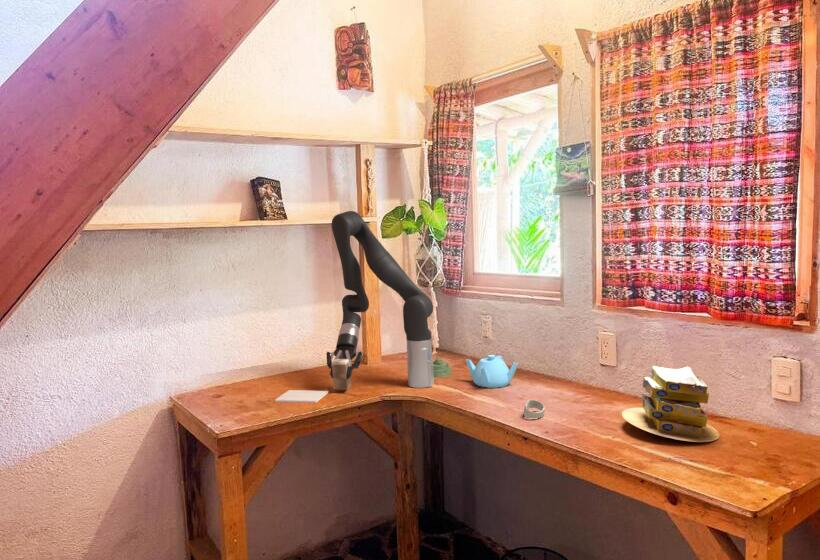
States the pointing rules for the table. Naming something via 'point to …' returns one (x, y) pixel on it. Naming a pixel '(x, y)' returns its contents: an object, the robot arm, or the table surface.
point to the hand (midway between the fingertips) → (340, 377)
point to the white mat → (301, 396)
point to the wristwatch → (533, 404)
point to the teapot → (491, 372)
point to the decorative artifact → (441, 368)
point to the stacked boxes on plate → (673, 406)
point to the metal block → (340, 374)
